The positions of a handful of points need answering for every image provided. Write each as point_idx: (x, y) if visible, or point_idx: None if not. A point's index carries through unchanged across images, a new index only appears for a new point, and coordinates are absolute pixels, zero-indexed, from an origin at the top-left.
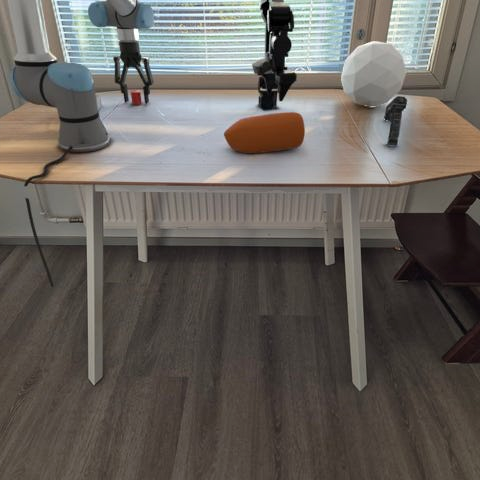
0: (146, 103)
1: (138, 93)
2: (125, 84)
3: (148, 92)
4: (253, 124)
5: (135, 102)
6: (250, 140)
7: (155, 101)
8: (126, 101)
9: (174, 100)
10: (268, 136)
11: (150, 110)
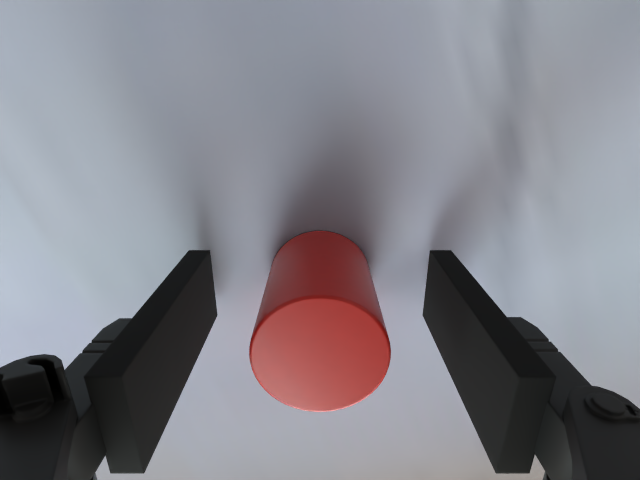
0: (191, 252)
1: (260, 315)
2: (512, 456)
3: (100, 338)
4: None
5: (314, 239)
6: None
7: None
8: (431, 260)
9: None
10: None
11: (57, 66)
